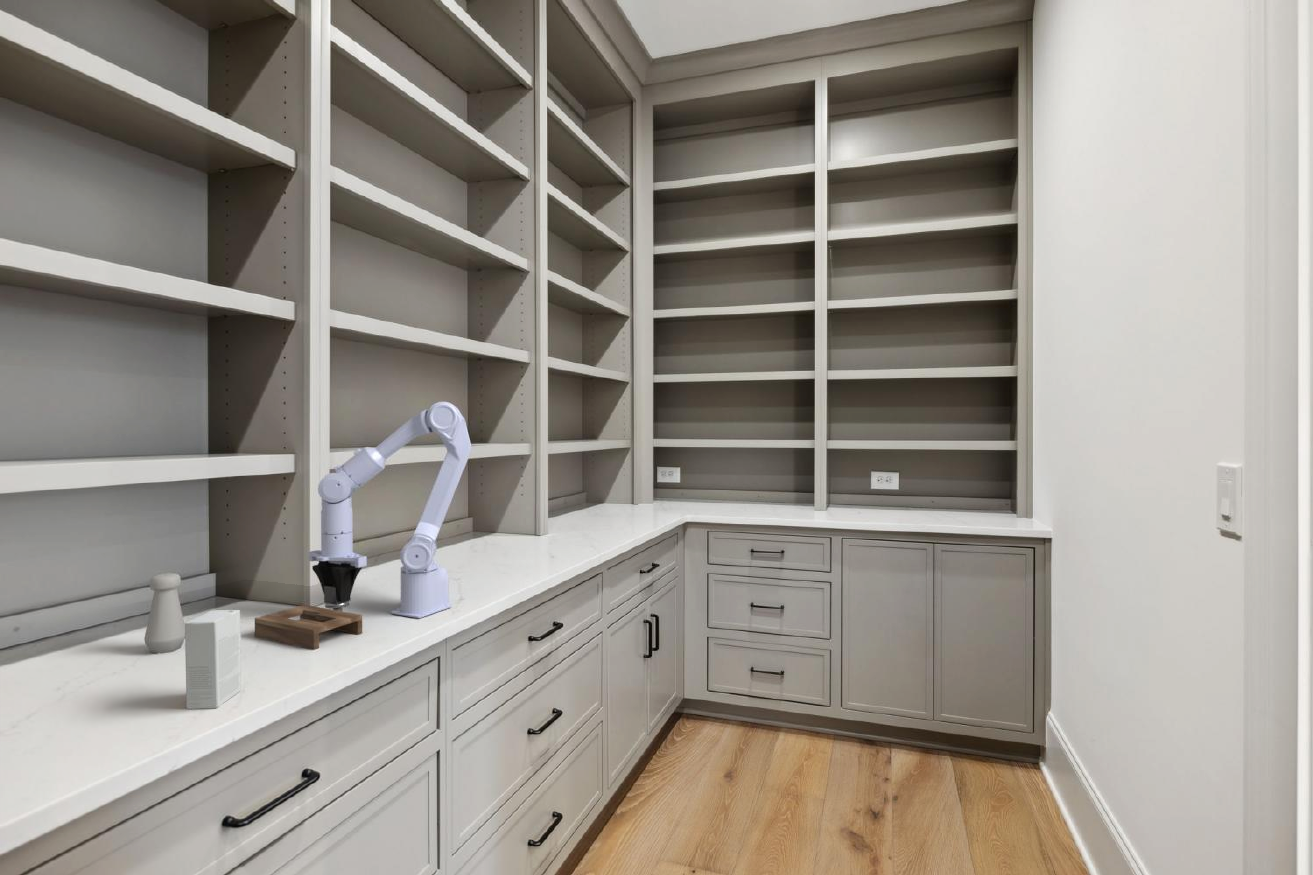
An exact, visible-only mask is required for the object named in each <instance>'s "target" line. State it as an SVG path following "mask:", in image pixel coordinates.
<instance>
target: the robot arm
mask: <svg viewBox="0 0 1313 875" xmlns="http://www.w3.org/2000/svg"><path fill="white" fill-rule="evenodd" d="M468 431H469V430H468V428H467V422H466V419H465V417H464V416H463V414H462V413H461V411H460V409H459V408H458V407H457V406H455V405H454V404H452V403H450V402H448V401H439V402H436V403H434V404H433V405H431V406H430V407H429V409H425V410H423V411H421V412H419V413H417V414H416V415H415V416H413V417H411V418H410V419H408V420H407V421H406V422H405V423H404V424H402V426H400V427H399V428H397V429H396V430H395V431H394V432H393V433H391V434H390V435H389V436H388V437H387V438H385V439H384V440H383V441H382V442H380V444H378V445H377V446H376V447H370V446H365V447H363V448H362V449H361V448H357V449H356V450H354V451H353V456H352V457H350V458H349V459H348V460H346V461H345V462H344V463H343V464H341V465H340V464H337V465H336V466H335V467H334V468H333V469H334V471H335V472H331V473H328V474H325V475H324V476H323V478H322V479H321V480H320V481H319V483H318V485H317V492H318V495H319V497H320V498H321V511H320V529H321V530H320V533H321V534H320V535H321V536H320V538H321V540H320V542H321V544H320V550H318V549H317V550H311V551H308V562H317V564H314V565H312V571H313V572H314V574H315V575H316V577H317V578H318V579H317V580H319V583H320V587H321V589H322V593H323V594H324V586H325V585H329V584H333V583H336V585H337V596H338V600H339V602H343V601H346V600H349V599H350V600H351V595H352V592H353V588H354V584H355V581H356V579H357V577H358V575H359V573H360V572H361V570H362V568H364V567H367V565H368V564H367V563H368V561H367V560H368V558H367V555H366V556H365V555H361V554H359V553H357V552H354V550H353V549H354V547H353V544H354V543H353V540H354V539H353V537H354V536H353V534H354V532H353V531H354V530H353V529H354V528H353V527H354V526H353V524H354V523H353V522H354V521H353V520H354V519H353V516H354V515H353V512H354V511H353V507H352V506H353V505H352V504H353V503H352V501H353V500H352V498H353V497H352V496H353V495H354V493H355V491H356V490H357V489H360V488H361V487H363V486H364V485H365V484H366V483H368V482H369V481H370V480H372V479H374V477H375V476H377V475H378V474H379V473H381V472H382V471H383V470H385V468H386V463H387V462H386V460H387V459H388V458H389V457H391V456H392V455H393V454H395V453H396V452H398V451H399V450H400V449H402V448H403V447H404V446H406V445H407V444H408V443H410V442H411V441H413V440H414V439H416V437H419V436H422V435H426V434H432V433H434V432H435V434H437V435H438V436H439V437H440V440H441V441H442V443H443V445H444V447H445V449H446V454H445V456H444V459H443V462H442V465H441V467H440V469H439V471H438V474H437V477H436V479H435V482H434V484H433V487H432V489H431V492H430V494H429V496H428V499H427V501H426V504H425V506H424V509H423V511H422V514H421V517H420V519H419V521H418V524H417V525H416V527H415V531H414V533H413V534H412V536H410V538H409V539H408V540H407V541H406V544H405V545H403V547H402V548H401V551H400V555H399V556H400V562H401V564H402V566H401V567H400V607H399V608H397V609H394V610H391V612H390V613H391V615H392V614H393V615H397V616H403V617H408V618H409V617H410V618H416V619H421V618H425V617H426V616H430V615H432V614H436V613H439V612H441V611H443V610H446V609H451V608H452V606H453V605H452V604H450V603H449V602H450V589H449V588H450V586H449V585H450V584H449V582H450V579H449V578H450V577H449V574H448V571H447V570H446V568H444V566H442V565H439V564H437V563H436V562H435V561H434V556H435V555H436V552H437V548H438V547H437V538H438V535H439V533H440V530H441V528H442V525H443V523H444V520H445V517H446V514H447V513H448V511H449V508H450V506H451V502H452V500H453V497H454V495H455V493H456V490H457V489H458V488H457V487H458V485H459V484H460V483H459V482H460V480H461V477H462V475H463V472H464V470H465V467H466V465H467V462H468V460H469V457H470V455H471V452H472V449H473V448H472V443H471V440H470V435H469V432H468Z"/></svg>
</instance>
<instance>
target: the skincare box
mask: <svg viewBox="0 0 1313 875" xmlns="http://www.w3.org/2000/svg"><path fill="white" fill-rule="evenodd" d="M184 624H185V639H184V642H185V644H184V645H185V651H184V652H185V692H186V693H185V696H186V700H185V701H186V709H187V710H196V709H197V710H198V709H200V710H201V709H218V708H219V707H220V706H221V705H223V704H224V703H226V702H228V701H229V700H230V699H232V698H233V697H234V696H235V695H238V693H240V692H241V691H242V652H241V651H242V650H241V649H242V648H241V647H242V646H241V644H242V641H241V610H240V609H221V610H220V609H217V610H216V609H215V610H209V611H207V612H205V613H204V614H201V615H199V616H197V617H195V618H193V619H191V620H188V621H186V622H184Z"/></svg>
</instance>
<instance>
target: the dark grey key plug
mask: <svg viewBox="0 0 1313 875" xmlns="http://www.w3.org/2000/svg"><path fill="white" fill-rule="evenodd" d="M350 601H351V598H350V599H349V600H346V601H343V602H339V600H338V596H337V585H336V583H333V584H329V585H325V586H324V593H323V603H324V608H326V609H332V610H337V611H343V608H346V607H348V606H350Z"/></svg>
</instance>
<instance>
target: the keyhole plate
mask: <svg viewBox="0 0 1313 875" xmlns="http://www.w3.org/2000/svg"><path fill="white" fill-rule="evenodd" d="M297 616H299V619H292V618H294V617H297ZM330 630H331V631H338V632H341V633H343V632H344V633H347V634H348V633H349V634H353V635H357V636H359V635H361V634H363V614H359V613H355V612H354V613H353V612H348V611H343V610H342V611H337V610H332V608H326V607H319V606H314V605H308V604H302V605H299V606H294V607H292V608H288V609H284V610H279V611H276V612H272V613H269V614H266V615H261V616H257V617H254V637H256V638H260V639H264V640H269V641H273V642H277V643H282V644H287V645H292V646H296V647H301V648H305V649H309V650H317V649H319V648H320V633H323V632H326V631H330Z"/></svg>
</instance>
